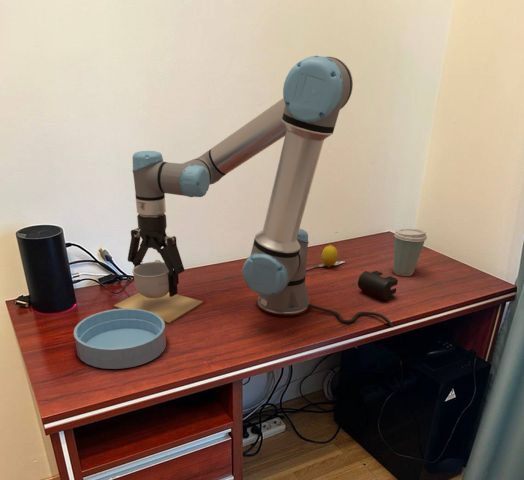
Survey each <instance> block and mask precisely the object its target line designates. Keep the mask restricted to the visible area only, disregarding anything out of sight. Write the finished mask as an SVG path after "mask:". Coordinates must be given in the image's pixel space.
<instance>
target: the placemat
mask: <svg viewBox="0 0 524 480" xmlns="http://www.w3.org/2000/svg"><path fill="white" fill-rule="evenodd" d="M203 303H204V301H203V300H200V299H196V298H192V297H188V296H184V295H181V294H176V295H174V296H172V297H170V296H169V292H168V294H167V295H165V296H163V297H161V298H147V297H145V296H143V295H141V294H140V293H139V292H137V293H135V294H133V295H131V296H129V297H127V298H125V299H123V300H121V301H120V302H117V303H115V304H113V308H114V309H126V308H129V309H141V310H146V311H149V312H153V313H155V314H157V315H159V316H160V317H161V318H162V319H163V321H164V323H165V324H168V325H170V324H171V323H173V322H175V321H176V320H178V319H179V318H181V317H184V315H187V314H188V313H189V312H191V311H193V310H194V309H196V308H197V307H199V306H201V305H202V304H203Z"/></svg>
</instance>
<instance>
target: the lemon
mask: <svg viewBox="0 0 524 480" xmlns="http://www.w3.org/2000/svg"><path fill="white" fill-rule="evenodd" d="M338 257H339V254H338V250H337V248H336V247H335V245H332V244H329V245H327V246H325V247H324V248H323V250H322V251H321V261H322V264H323V263H324V264H325V265H327V266H326V267H327V268H330V267H332V266H335V265H334V264H335V263H336V261H338Z"/></svg>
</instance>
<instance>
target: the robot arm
mask: <svg viewBox="0 0 524 480" xmlns="http://www.w3.org/2000/svg"><path fill="white" fill-rule="evenodd" d="M353 85H354V83H353V75H352V72H351V70H350V69H349V67H348V66H347V64H346V63H345V62H343V61H342V60H341V59H339V58H337V57H335V56H334V57H333V56H321V55H312V56H308V57H305V58H303V59H302V60H300V61H298V62H297V63H295V64H294V66H293V67H291V68H290V70H289V71H288V73H287V75H286V77H285V80H284V82H283V88H282V96H283V98H281V99H280V100H278V101H277V102H276V103H274V104H272V105H271V106H270V107H268V108H267V109H265V110H264V111H263V112H261V113H260V114H258V115H257V116H255V117H254V118H253V119H251V120H250V121H248V122H247V123H246V124H244V125H242V126H241V127H240V128H238V129H237V130H236V131H234V132H232V133H231V134H230V135H229V136H227V137H225V138H224V139H223V140H221V141H220V142H218V143H217V144H216V145H214V146H212V147H211V148H210V149H208V150H207V151H206V152H204V153H203V154H201V155H200V156H197V157H196V158H193V159H191V160H188V161H185V162H182V163H181V162H180V163H178V162H167V161H164V158H163V154H162V153H161V152H159V151H156V150H139V151H136V152H135V153H133V155H132V175H133V176H132V177H133V183H134V193H135V194H134V195H135V205H136V213H137V215H136V218H137V219H136V220H137V228H134V229H131V230H130V237H131V238H130V245H129V249H128V254H127V262H129V263H132V265H133V268H135V267H136V266H138V265H140V264H144V258H145V256H146V255H147V253H148V250H149V249H153V250H156V252H157V253H158V254H159V255H160V256H161V259H162V261H163V262H164V263H165V264H166V266H167V268H168V270H169V272H170V274H168V281H169V296H170V297H172V296H174V295H176V294H177V295H179V294H178V285H179V283H180V280H179V274H182V273H184V272H185V267H184V264H183V261H182V258H181V255H180V252H179V251H180V250H179V248H178V245H177V236H175V235H173V236H170V235H169V236H168V235H167V233H166V230H167V227H168V225H167V223H168V222H167V215H166V213H167V209H166V207H167V206H166V195H165V194H167V195H168V194H169V195H176V196H183V197H187V198H203V197H205V196H206V195H207V192H208V191H209V189H210V186H211V185H214V184H216V183H218V182H219V181H220V180H221V179H222V178H223V177H225V176H226V175H227V174H229V173H230V172H232V171H234V170H235V169H237V168H238V167H241V165H242V164H245V163H246V162H247V161H249V160H251V159H252V158H253V157H256V156H257V155H258V154H260V153H262V152H264V151H265V150H266V149H267V148H269V147H271V146H272V145H274V144H275V143H276V142H278V141H280V140H281V139H283V138H284V139H283V144H282V148H281V152H280V156H279V160H278V164H277V168H276V173H275V176H274V181H273V186H272V190H271V194H270V197H269V202H268V206H267V209H266V215H265V220H264V224H263V228H262V229H261V230H260V231H259V232H257V233H256V234H255V236H254V239H253V242H252V243H253V244H252V247H251V252H250V255H249V256H248V257H247V258H246V259H245V262H244V263H243V266H242V278H243V280H244V282H245V283H246V285H247V287H248V288H249V289H250V290H251V291H252V292H254V293H255V294H258V297H257V307H258V309H259V310H260V311H261V312H264V313H265V314H268V315H271V316H276V317H283V318H284V317H285V318H286V317H297V316H300V315H303V314H305V313H307V312H308V311H309V310H310V308H311V309H314V310H317V311H322V312H325V313H329V314H332V315H335V316H336V317H337V318H338V320H339V322H340V323H344V324H351V323H354V322H355V321H356V319H357V318H358V317H359V316H362V315H364V316H374V317H378V318H381V319H382V320H383V321H384V322H386V323H387V325H388V326H389V327H390V328H394V327H395V325H394V324H393V323H392V322H391V321H390V320H389V318H387V317H386V316H384V315H383V314H381V313H379V312H374V311H358V312H357V313H356V314H355V315H353V317H352V318H350V319H343V318H342V315H341V314H340V313H339V312H337V311H335V310H332V309H328V308H324V307H321V306H317V305H314V304H311V301H310V296H309V292H308V289H307V284H306V276H307V275H306V274H307V270H306V269H307V263H308V262H307V261H308V249H309V243H310V242H309V234H308V231H306V230H305V229H303V228H301V224H302V220H303V216H304V213H305V209H306V206H307V203H308V199H309V195H310V192H311V188H312V184H313V181H314V177H315V174H316V170H317V166H318V163H319V159H320V155H321V153H322V148H323V145H324V142H325V140H326V139H328V138H329V137H331V136H332V135H333V134H334V131H335V127H336V126H337V125H336V124H337V121H338V117H339V114H340V111H341V110H342V109H343V108H344V107H345V106H346V105H347V103H348V102H349V100H350V98H351V95H352V92H353Z"/></svg>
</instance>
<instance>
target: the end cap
mask: <svg viewBox="0 0 524 480" xmlns="http://www.w3.org/2000/svg"><path fill="white" fill-rule="evenodd" d="M398 281H399V280H398V278H396V277H393V276H391V275H389V276H386V277H383V272H381V271H378V270H373V271H371V272H370V271H367V270H365V271H363V272H362V273H361V274H360V276H359V278H358V279H357V287H358V289H359V290H360V291H362V292H363V293H366V294H368V295H370V296H373V297H375V298H378V299H380V300H381V301H385V302H387V301H389V300H392V299H394V298H395V294H396V292H397V287H395V288H392V287H394V286H397V285H398Z"/></svg>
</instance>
